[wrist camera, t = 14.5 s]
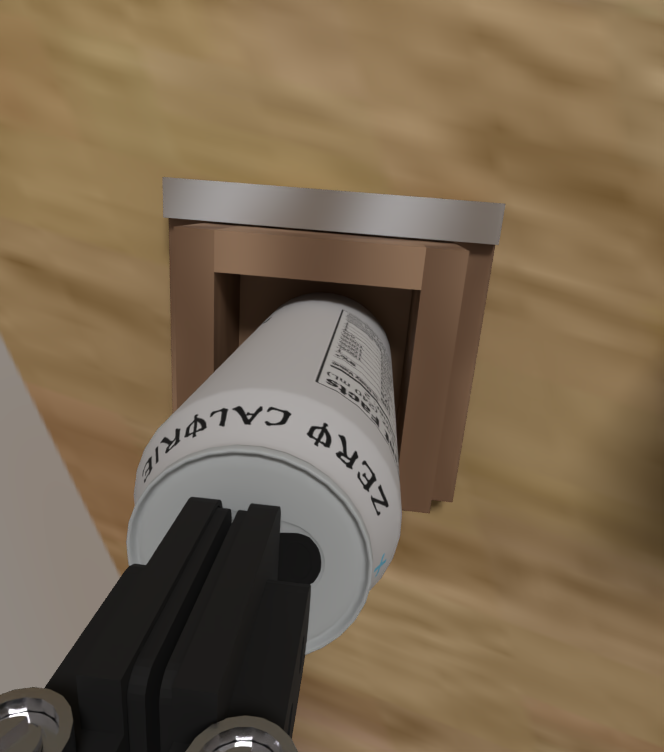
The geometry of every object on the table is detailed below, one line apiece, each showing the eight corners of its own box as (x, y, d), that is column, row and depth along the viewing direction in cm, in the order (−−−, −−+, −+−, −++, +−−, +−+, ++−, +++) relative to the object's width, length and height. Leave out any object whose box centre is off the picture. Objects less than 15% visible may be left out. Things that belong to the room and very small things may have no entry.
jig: (494, 203, 23) (527, 204, 18) (448, 486, 28) (464, 552, 23) (180, 179, 24) (125, 172, 19) (184, 458, 29) (140, 515, 23)
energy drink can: (253, 292, 24) (65, 422, 10) (388, 285, 23) (400, 412, 9) (267, 417, 26) (126, 681, 12) (393, 413, 25) (408, 688, 11)
